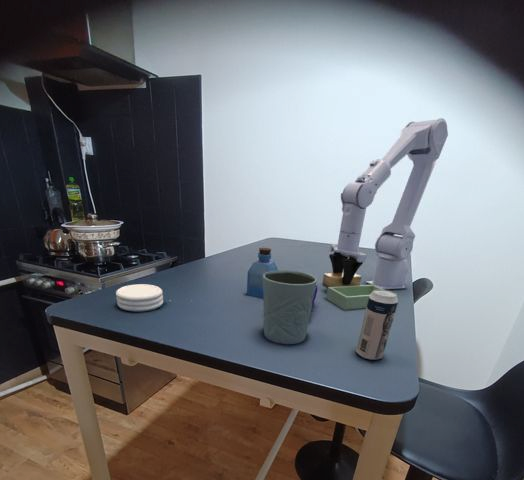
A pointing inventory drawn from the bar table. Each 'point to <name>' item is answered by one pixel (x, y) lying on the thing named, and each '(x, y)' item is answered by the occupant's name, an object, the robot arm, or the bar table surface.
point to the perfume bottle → (259, 273)
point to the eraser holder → (350, 296)
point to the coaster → (139, 297)
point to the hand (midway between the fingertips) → (341, 281)
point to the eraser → (339, 280)
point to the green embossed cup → (287, 305)
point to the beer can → (377, 324)
